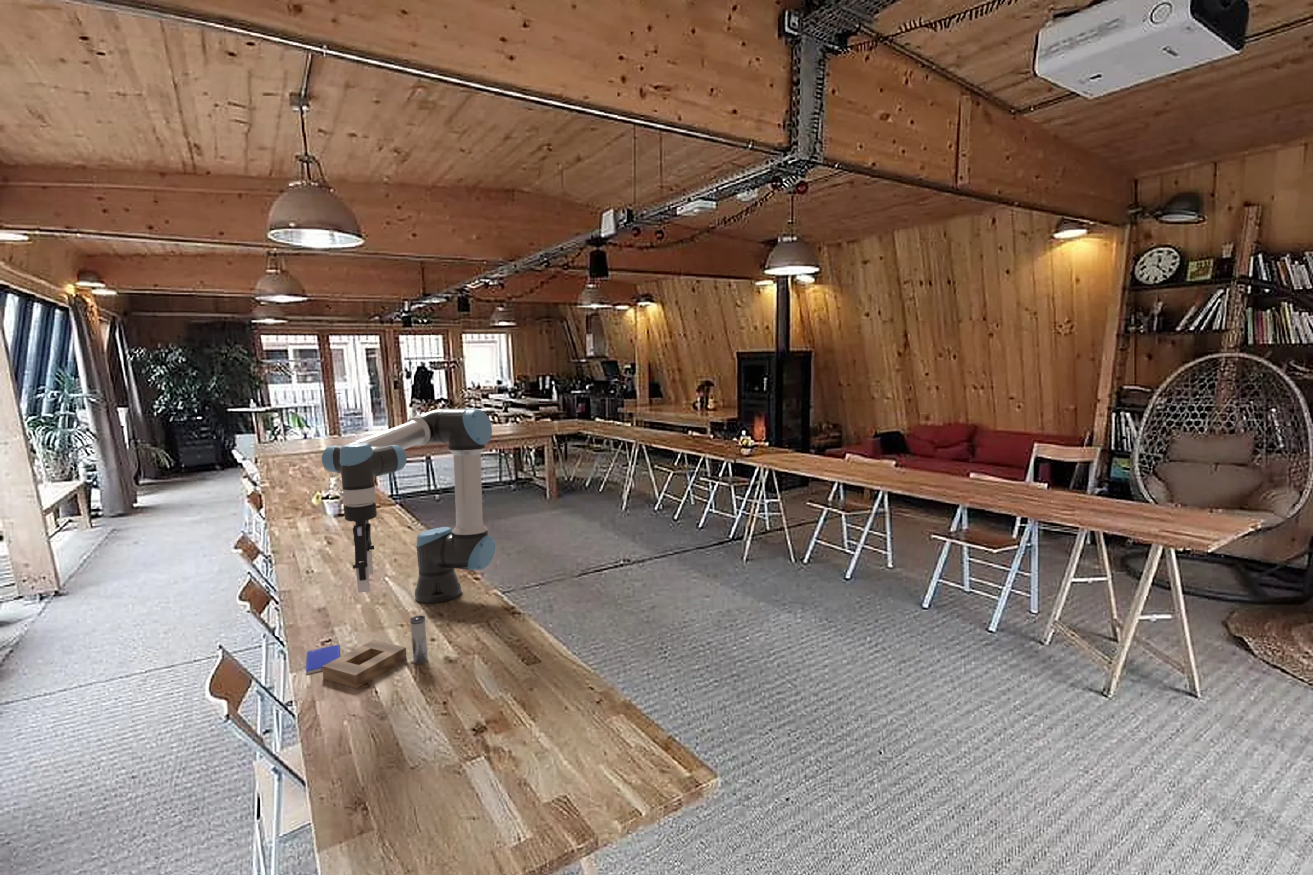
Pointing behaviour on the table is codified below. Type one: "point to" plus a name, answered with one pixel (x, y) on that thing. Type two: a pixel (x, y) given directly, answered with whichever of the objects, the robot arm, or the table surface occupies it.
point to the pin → (419, 639)
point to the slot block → (364, 663)
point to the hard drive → (321, 658)
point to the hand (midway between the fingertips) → (366, 582)
